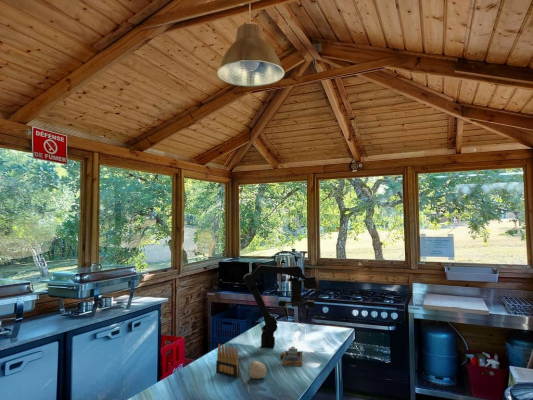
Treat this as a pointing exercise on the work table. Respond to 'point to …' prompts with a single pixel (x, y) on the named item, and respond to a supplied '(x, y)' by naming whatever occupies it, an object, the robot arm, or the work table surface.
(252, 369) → the garlic bulb
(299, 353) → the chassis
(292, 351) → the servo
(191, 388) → the work table surface
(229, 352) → the ammunition clip
